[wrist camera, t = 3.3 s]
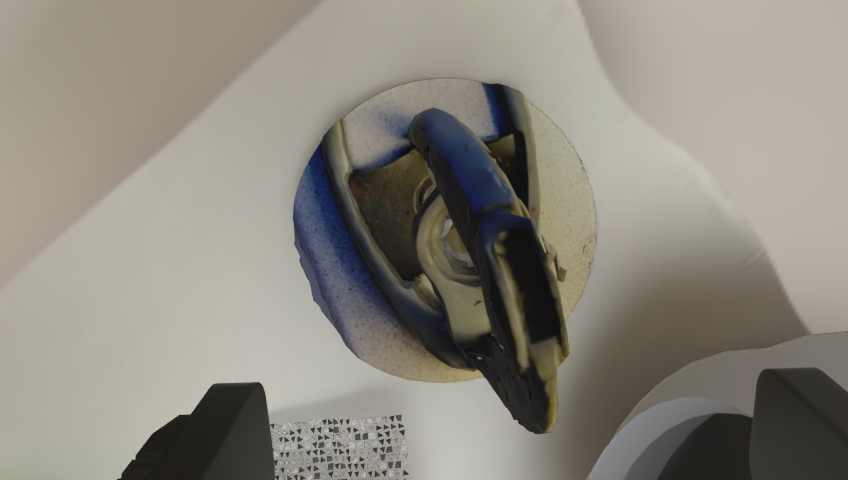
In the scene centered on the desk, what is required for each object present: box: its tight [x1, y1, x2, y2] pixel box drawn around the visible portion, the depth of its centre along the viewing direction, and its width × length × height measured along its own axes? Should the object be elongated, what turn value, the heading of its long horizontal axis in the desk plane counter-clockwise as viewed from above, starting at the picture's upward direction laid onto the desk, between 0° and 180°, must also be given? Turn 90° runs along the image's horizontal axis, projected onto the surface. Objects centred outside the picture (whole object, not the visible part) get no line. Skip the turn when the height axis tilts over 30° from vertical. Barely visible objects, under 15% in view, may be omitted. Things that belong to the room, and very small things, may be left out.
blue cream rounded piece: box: [293, 78, 596, 434], centre depth 20 cm, size 12×12×15 cm
